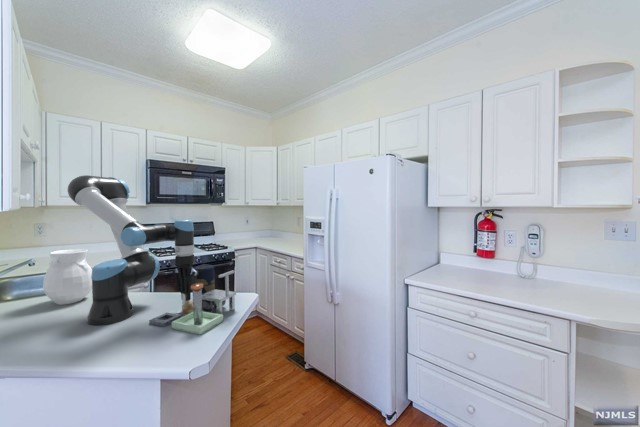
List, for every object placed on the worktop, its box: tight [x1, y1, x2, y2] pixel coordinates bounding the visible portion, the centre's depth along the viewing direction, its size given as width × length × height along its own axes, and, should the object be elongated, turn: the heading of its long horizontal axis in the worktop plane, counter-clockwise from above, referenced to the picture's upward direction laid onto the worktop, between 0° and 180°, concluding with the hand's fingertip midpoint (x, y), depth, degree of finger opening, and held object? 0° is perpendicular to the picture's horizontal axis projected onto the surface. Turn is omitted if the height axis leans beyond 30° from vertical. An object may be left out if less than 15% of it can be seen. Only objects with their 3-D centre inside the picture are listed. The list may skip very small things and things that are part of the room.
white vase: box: [42, 248, 93, 306], centre depth 130 cm, size 19×18×25 cm
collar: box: [148, 312, 182, 328], centre depth 107 cm, size 8×8×2 cm
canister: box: [194, 263, 216, 301], centre depth 131 cm, size 10×10×18 cm
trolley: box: [202, 269, 237, 315], centre depth 117 cm, size 12×10×18 cm
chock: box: [181, 300, 193, 316], centre depth 116 cm, size 6×5×4 cm
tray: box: [171, 311, 224, 336], centre depth 104 cm, size 14×12×3 cm
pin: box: [191, 283, 203, 325], centre depth 104 cm, size 4×4×15 cm
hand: (186, 307), depth 118 cm, fingers closed
